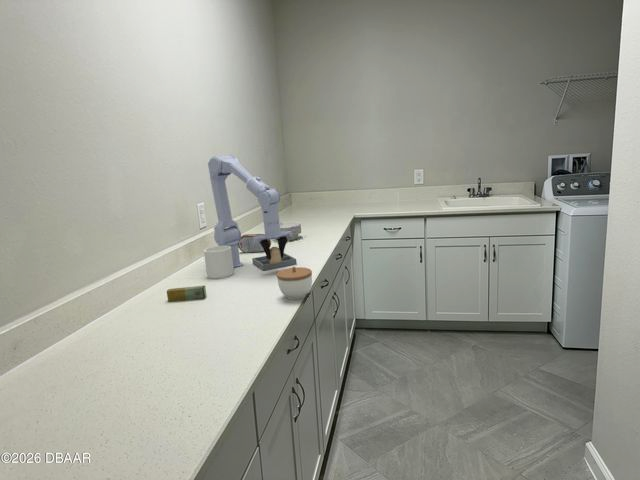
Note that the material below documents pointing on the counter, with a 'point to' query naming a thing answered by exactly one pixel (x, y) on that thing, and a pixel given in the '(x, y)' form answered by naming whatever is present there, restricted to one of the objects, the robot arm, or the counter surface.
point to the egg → (275, 255)
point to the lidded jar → (295, 282)
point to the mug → (219, 262)
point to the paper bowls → (291, 229)
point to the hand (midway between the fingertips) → (275, 258)
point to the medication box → (186, 293)
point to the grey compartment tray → (266, 265)
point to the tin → (250, 244)
